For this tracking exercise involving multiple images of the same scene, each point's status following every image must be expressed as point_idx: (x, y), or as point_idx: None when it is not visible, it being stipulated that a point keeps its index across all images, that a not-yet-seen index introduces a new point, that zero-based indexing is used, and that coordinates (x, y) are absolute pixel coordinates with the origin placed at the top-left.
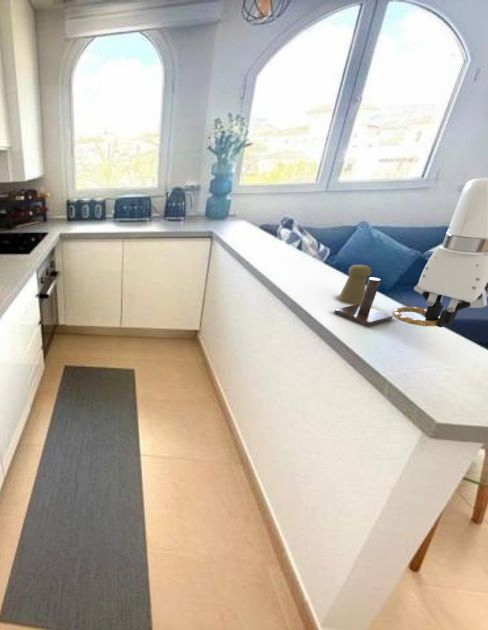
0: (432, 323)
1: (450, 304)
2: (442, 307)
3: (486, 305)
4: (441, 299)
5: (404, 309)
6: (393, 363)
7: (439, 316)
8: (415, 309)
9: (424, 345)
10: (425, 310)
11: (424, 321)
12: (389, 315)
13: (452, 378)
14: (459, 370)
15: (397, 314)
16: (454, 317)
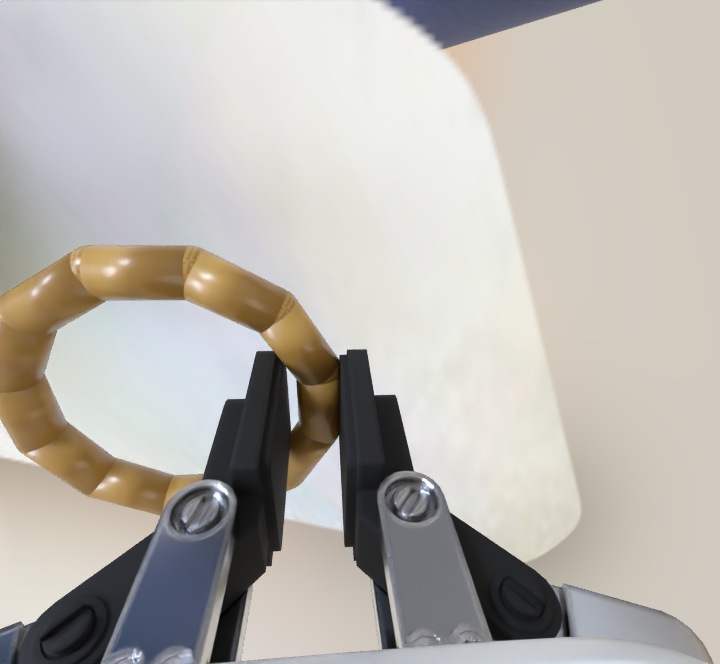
0: (321, 456)
1: (389, 637)
2: (271, 450)
3: (696, 643)
4: (228, 556)
5: (32, 386)
6: (336, 476)
7: (266, 337)
8: (57, 329)
9: (282, 244)
10: (110, 296)
11: (289, 487)
12: None
13: (483, 411)
14: (476, 342)
15: (130, 506)
16: (402, 433)
